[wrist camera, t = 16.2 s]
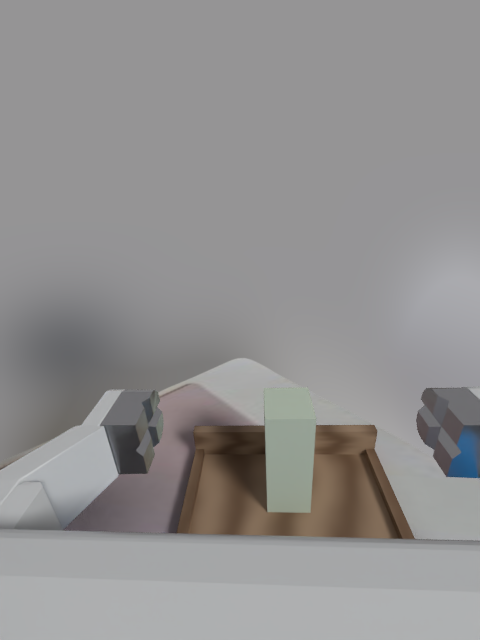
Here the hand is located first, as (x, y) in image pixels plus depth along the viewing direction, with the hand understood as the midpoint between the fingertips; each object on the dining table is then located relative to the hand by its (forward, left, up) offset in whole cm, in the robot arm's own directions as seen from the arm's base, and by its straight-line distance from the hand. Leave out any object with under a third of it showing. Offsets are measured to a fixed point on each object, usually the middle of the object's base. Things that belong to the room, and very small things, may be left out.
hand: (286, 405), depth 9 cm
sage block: (+2, +18, -29) cm, 34 cm away
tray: (+2, +18, -29) cm, 35 cm away
